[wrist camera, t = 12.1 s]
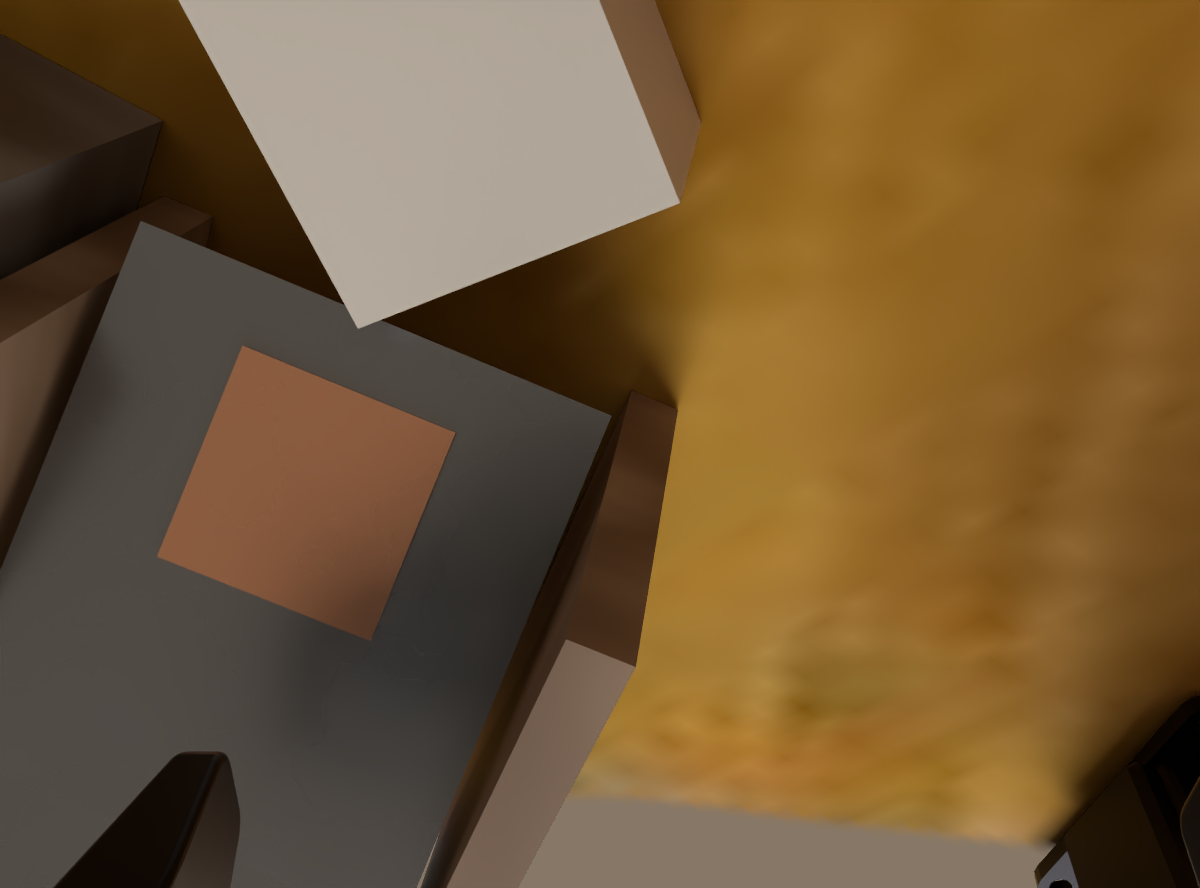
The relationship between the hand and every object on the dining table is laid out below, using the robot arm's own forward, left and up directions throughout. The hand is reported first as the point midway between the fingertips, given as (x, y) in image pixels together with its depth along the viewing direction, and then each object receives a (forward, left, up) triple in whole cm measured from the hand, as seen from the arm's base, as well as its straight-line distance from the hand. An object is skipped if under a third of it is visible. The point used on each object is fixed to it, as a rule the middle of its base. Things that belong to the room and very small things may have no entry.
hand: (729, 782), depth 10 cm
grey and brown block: (+6, +9, -11) cm, 15 cm away
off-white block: (+4, -1, -9) cm, 10 cm away
